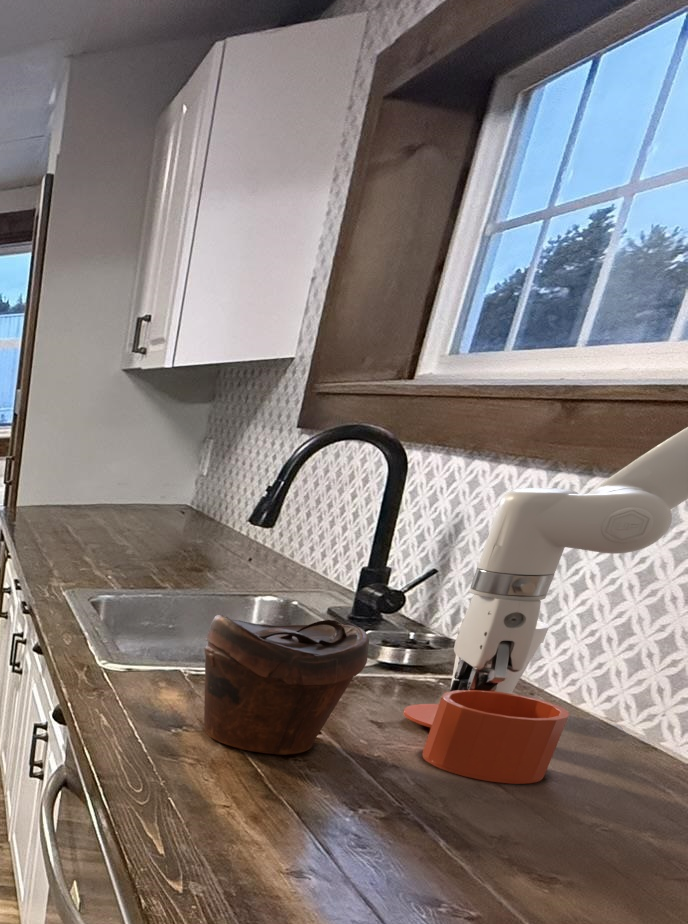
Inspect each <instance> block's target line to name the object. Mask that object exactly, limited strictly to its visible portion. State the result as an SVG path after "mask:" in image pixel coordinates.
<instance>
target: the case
mask: <svg viewBox="0 0 688 924" xmlns="http://www.w3.org/2000/svg"><path fill="white" fill-rule="evenodd" d="M204 641H205V642H207V645H206V646H205V647H204V655H205V659H204V705H203V707H204V708H203V710H204V713H203V727H204V728H203V729H204V732H205V734H206V735H208V736H209V737H210V738H211V739H212V740H214V741H217V742H219V743H221V744H223V745H226V746H229V747H233V748H234V749H235V748H236V749H240V750H243V751H247V752H253V753H262V754H267V755H269V754H270V755H277V756H288V755H289V756H290V755H298V754H302V753H305V752H307V751H309V750H310V749H311V748H312V747H313V745H314V743H315V741H316V739H317V737H318V736H319V734H320V732H321V731H322V729H323V727H324V726H325V724H326V723H327V721H328V719H329V718H330V716H331V715H332V713H333V711H334V710H335V708H336V707H337V705H338V703H339V701H340V700H341V698H342V697H343V695H344V693H345V692H346V690H347V688H348V687H349V685H350V684H351V682H352V680H353V678H354V677H356V676H357V675H359V674H360V673H361V672H362V671H363V670H364V668H365V667H366V666H367V662H368V655H369V645H370V638H369V635H368V633H367V632H366V631H365V630H364V629H363V628H360V627H357V626H355V625H353V624H352V625H349V624H342V623H341V622H340V621H338V620H335V619H324V620H318V621H316V622H312V623H309V624H287V625H280V624H279V625H275V624H265V623H264V624H263V623H253V622H249V621H245V620H240V619H234V618H230V617H228V616H225V615H224V614H216V615H215V616H214V618H213V619H212V621H211V623H210V626H209V630H208V633H207V635H206V638H205V639H204Z"/></svg>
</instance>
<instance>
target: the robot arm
mask: <svg viewBox="0 0 688 924" xmlns="http://www.w3.org/2000/svg"><path fill="white" fill-rule="evenodd" d="M686 500H688V426H687V427H685V428H684V429H682V430H681V431H679V432H677V433H675V434H674V435H672V436H671V437H668V438H667V439H665V440H664V441H662V442H661V443H659V444H658V445H655V446H654V447H653V448H651V449H650V450H648V451H646V452H645V453H643V454H642V455H640V456H639V457H637V458H636V459H635V460H633V461H632V462H630V463H629V464H627V465H626V466H624V467H623V468H622V469H620V470H619V471H617V472H616V473H614V474H613V475H611V476H610V477H608V478H607V479H606V480H604V481H603V482H601V483H600V484H598V485H597V486H595V487H594V488H593V489H591V490H590V491H589V492H587V493H578V492H577V491H575V490H572V489H565V488H554V487H553V488H552V487H551V488H550V487H523V488H516V489H513V490H510V491H508V492H506V493H505V494H504V495H503V496H502V497H501V499H500V501H499V504H498V506H497V509H496V512H495V514H494V518H493V520H492V523H491V527H490V530H489V532H488V535H487V539H486V542H485V544H484V547H483V549H482V552H481V555H480V558H479V562H478V565H477V568H476V570H475V573H474V576H473V579H472V581H471V584H470V587H469V590H468V592H469V593H470V594H472V598H471V600H470V602H469V604H468V607H467V609H466V611H465V614H464V615H463V616H464V619H463V618H462V619H463V621H462V620H461V622H462V624H461V623H460V625H461V626H460V625H459V628H460V629H459V628H458V630H459V632H457V635H456V638H455V641H454V646H453V652H454V654H455V656H456V655H457V656H458V657H459V662H458V667H457V670H456V673H455V676H454V678H455V679H456V680H454V681H453V683H452V686H451V685H450V688H451V689H449V692H450V691H455V690H458V688H459V685H460V682H461V680H462V679H469V681H468V684H467V688H465V687H463V689H462V690H482V691H495V690H496V688H497V685H498V683H499V682H502V681H504V680H505V679H506V673H507V669H508V670H510V671H511V672H519V671H520V670H522V669H523V667H524V664H525V661H526V658H527V655H528V652H529V649H530V646H531V642H532V639H533V636H534V632H535V629H536V625H537V621H539V617H540V611H541V604H542V600H545V599H546V597H547V595H548V592H549V590H550V588H551V584H552V582H553V579H554V577H555V574H556V572H557V569H558V566H559V564H560V561H561V558H562V556H563V553H564V550H565V548H568V549H569V548H570V549H574V550H575V549H577V550H583V551H588V552H594V553H601V554H615V555H616V554H617V555H618V554H627V553H633V552H636V551H640V550H642V549H645V548H648V547H650V546H651V545H653V544H655V543H656V542H658V541H659V540H661V538H663V536H665V535H666V533H667V532H668V531H669V529H670V527H671V524H672V521H673V514H672V509H674V508H675V507H677V506H679V505H680V504H683V503H684V502H685V501H686ZM488 664H492V665H491V668H488V667H487V666H488ZM484 673H488V674H484Z"/></svg>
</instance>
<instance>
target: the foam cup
mask: <svg viewBox="0 0 688 924" xmlns="http://www.w3.org/2000/svg"><path fill="white" fill-rule="evenodd" d="M464 616H465V615H463V616H462V619H461V622H460V625H459V628H458V632H459V629H460V626H461V624H462V621H463V619H464ZM549 628H550V626H549V623H547V622H544V621H540V620H538V621H537V625H536V629H535V632H534V636H533V639H532V642H531V646H530V649H529V652H528V655H527V658H526V661H525V664H524V667H523V669H522V670H520V671H519V672H511V671H510V670H508V669H507V673H506V679H505V680H504V681H502V682H499V683H498V685H497V688H496V690H495V692H502V693H509V694H513V691H514V690H515V688H516V686H517V685H518V683H519V681H520V680H521V678H522V677H523V674H524V673H525V671H526V669H527V668H528V665H529V664H530V663H531V661H532V659H533V657H534V655H535V654H536V652H537V650H538V649H539V647H540V645H541V644H543V643H544V641H545V638H546V636H547V633H548V630H549ZM458 632H457V633H458ZM458 662H459V657H458V656H457V655H456V654H455V658H454V664H453V671H452V676H451V683H450V689H451V686H452V683H453V681H454V680H456V679H455V678H454V676H455V673H456V670H457V667H458ZM491 665H492V664H488V666H487V667H488V668H491ZM484 674H488V673H484ZM450 689H449V690H450Z"/></svg>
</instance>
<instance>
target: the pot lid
mask: <svg viewBox="0 0 688 924" xmlns="http://www.w3.org/2000/svg"><path fill="white" fill-rule="evenodd" d="M468 681H469V679H462V680H461V682H460V685H459V688H458V690H462V689H463V687H465V688H467V684H468ZM438 706H439V703H419V704H411V705H407V706H406V707H404V709H403V712H402V713H403V716H404V717H405V718H406V719H408V720H410V721H412V722H413V723H416V724H418V725H421V726H424V727H427V728H429V729H431V726H432V723H433V721H434V718H435V715H436V712H437V709H438Z"/></svg>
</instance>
